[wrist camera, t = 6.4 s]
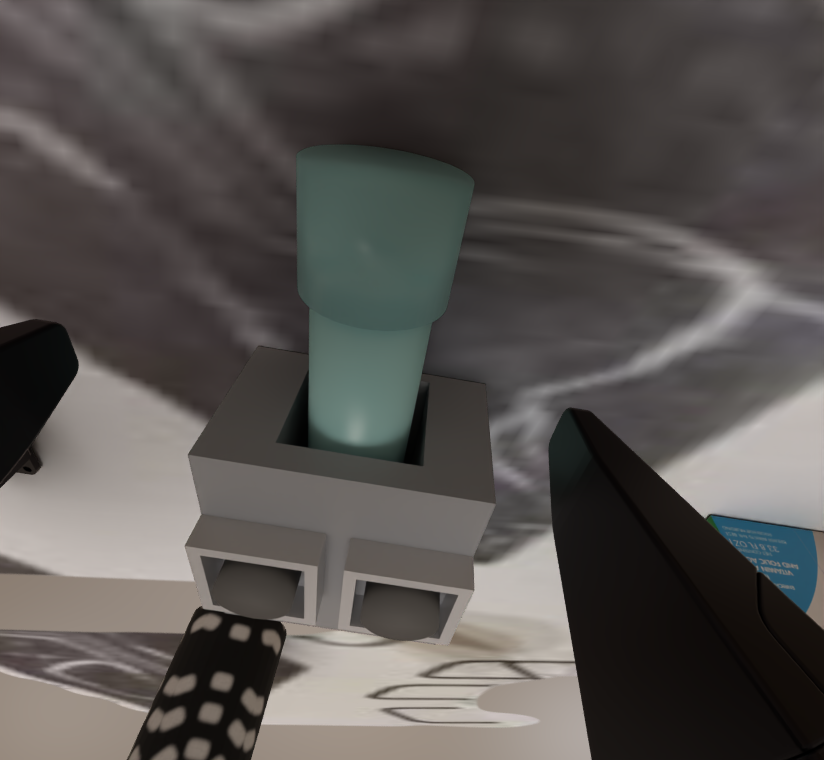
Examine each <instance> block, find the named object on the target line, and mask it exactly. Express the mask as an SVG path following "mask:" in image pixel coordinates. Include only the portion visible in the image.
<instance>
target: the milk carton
mask: <svg viewBox="0 0 824 760" xmlns="http://www.w3.org/2000/svg"><path fill="white" fill-rule="evenodd" d="M707 521H708V522H709V523H710V524H711V525H712V526H713V527H714V528H715V529H716V530H717V531H718V532H720V533H721V534H722V535H723V536H724V537H725V538H726V539H727V540H728V541H729V542H730V543H731V544H732V545H733V546H734V547H735V548H737V549H738V550H739V551H740V552H741V553H742V554H743V555H744V556H745V557H746V558H747V559H748V560H749V561H750V562H751V563H752V564H754V565H755V566H756V568H757V572H762V573H763V574H764V575H765V576H766V577H768V578H769V579H770V580H771V581H772V582H773V583H774V584H775V585H776V586H777V587H778V588H779V589H780V590H781V591H782V592H783V593H784V594H785V595H787V596H788V597H789V598H790V599H791V600H792V601H793V602H794V603H795V604H796V605H797V606H799V607H800V608H801V609H802V610H803V611H804V612H805V613H806V614H807V615H808V616H810V617H811V618H812V619H813V620H814V621H815V622H816V623H817V624H818V625H819V626H820V627H822V628H823V629H824V533H823V532H816V531H810V530H803V529H797V528H790V527H784V526H777V525H771V524H764V523H758V522H751V521H745V520H738V519H732V518H725V517H719V516H712V515H710V516H709V518H708V519H707Z"/></svg>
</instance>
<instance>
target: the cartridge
mask: <svg viewBox="0 0 824 760" xmlns="http://www.w3.org/2000/svg"><path fill="white" fill-rule="evenodd" d="M474 185H475V182H474V180H473V179H472V177H471V176H469V175H468V174H467V173H465V172H464V171H462V170H460V169H458V168H456V167H454V166H452V165H450V164H447V163H444V162H442V161H439V160H436V159H433V158H429V157H426V156H422V155H418V154H414V153H409V152H405V151H400V150H394V149H388V148H381V147H373V146H364V145H348V144H332V145H319V146H313V147H308V148H305V149H303V150H301V151H299V152H298V153H297V155H296V201H297V288H298V293H299V295H300V297H301V299H302V300H303V302H304V303H305V304H306V305H307V306H308V307H309V398H308V448H312V449H318V450H324V451H331V452H337V453H343V454H349V455H355V456H361V457H368V458H374V459H380V460H386V461H392V462H399V463H404V458H405V453H406V448H407V443H408V438H409V433H410V429H411V424H412V419H413V414H414V409H415V404H416V399H417V394H418V390H419V385H420V380H421V375H422V370H423V365H424V360H425V355H426V351H427V346H428V341H429V336H430V331H431V326H432V322H434V321H435V320H437V319H438V318H440V317H441V316H442V315H443V314H444V313H445V311H446V309H447V306H448V301H449V297H450V293H451V288H452V284H453V279H454V275H455V270H456V266H457V261H458V257H459V252H460V248H461V243H462V239H463V234H464V230H465V225H466V221H467V216H468V212H469V207H470V203H471V199H472V194H473V190H474Z"/></svg>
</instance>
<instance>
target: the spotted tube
mask: <svg viewBox="0 0 824 760" xmlns="http://www.w3.org/2000/svg"><path fill="white" fill-rule="evenodd" d="M285 638H286V629H285V627H284V626H283V625H282V623H281V622H280V621H274V620H267V619H254V618H249V617H245V616H241V615H234V614H227V613H224V612H221V611H215V610H208V609H203V607H202V606H201V607H199V608H198V609H196V611H195V612H194V614H193V616H192V618H191V621H190V623H189V625H188V627H187V630H186V631H185V634H184V636H183V638H182V640H181V642H180V645H179V647H178V649H177V651H176V653H175V656H174V658H173V660H172V662H171V664H170V666H169V669H168V671H167V673H166V675H165V677H164V680H163V682H162V684H161V686H160V688H159V690H158V693H157V695H156V697H155V699H154V701H153V704H152V706H151V708H150V710H149V712H148V715H147V717H146V719H145V721H144V723H143V726H142V728H141V730H140V732H139V734H138V737H137V739H136V741H135V743H134V745H133V747H132V750H131V752H130V754H129V756H128V759H127V760H251V757H252V754H253V750H254V747H255V743H256V740H257V736H258V733H259V729H260V726H261V722H262V719H263V715H264V712H265V708H266V705H267V701H268V698H269V694H270V691H271V687H272V684H273V680H274V677H275V673H276V669H277V666H278V662H279V659H280V655H281V652H282V648H283V645H284V641H285Z"/></svg>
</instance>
